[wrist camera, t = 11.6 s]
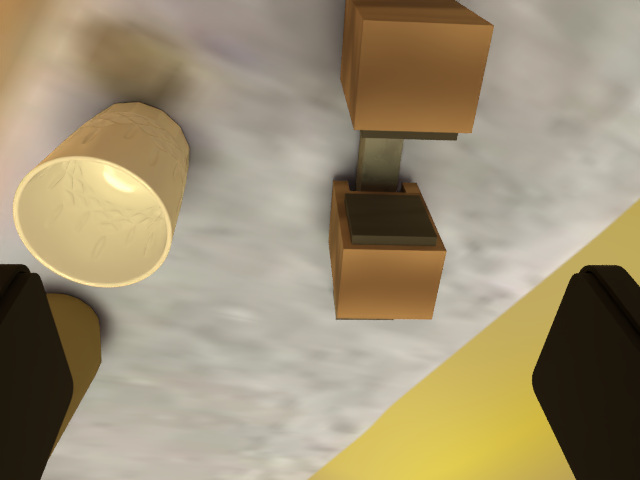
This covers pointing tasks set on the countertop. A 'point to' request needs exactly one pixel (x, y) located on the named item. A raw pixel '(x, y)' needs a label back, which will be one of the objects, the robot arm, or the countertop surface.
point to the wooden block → (413, 67)
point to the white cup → (106, 197)
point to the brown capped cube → (384, 254)
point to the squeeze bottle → (76, 345)
